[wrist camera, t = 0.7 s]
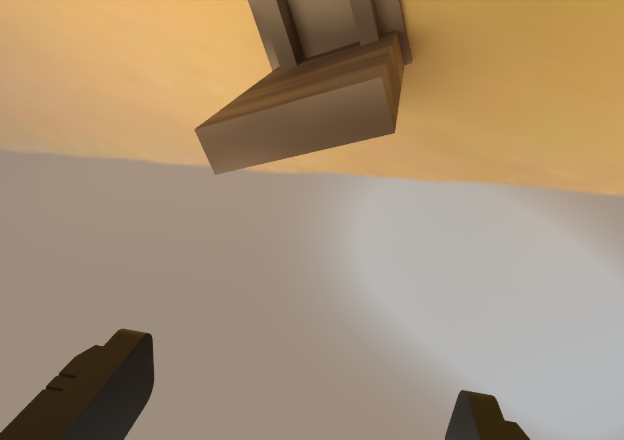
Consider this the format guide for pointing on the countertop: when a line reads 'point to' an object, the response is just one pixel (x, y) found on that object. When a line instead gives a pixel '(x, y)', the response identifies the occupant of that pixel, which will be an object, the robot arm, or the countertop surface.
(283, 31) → the brown wooden stand
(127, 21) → the countertop surface
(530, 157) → the countertop surface
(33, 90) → the countertop surface
